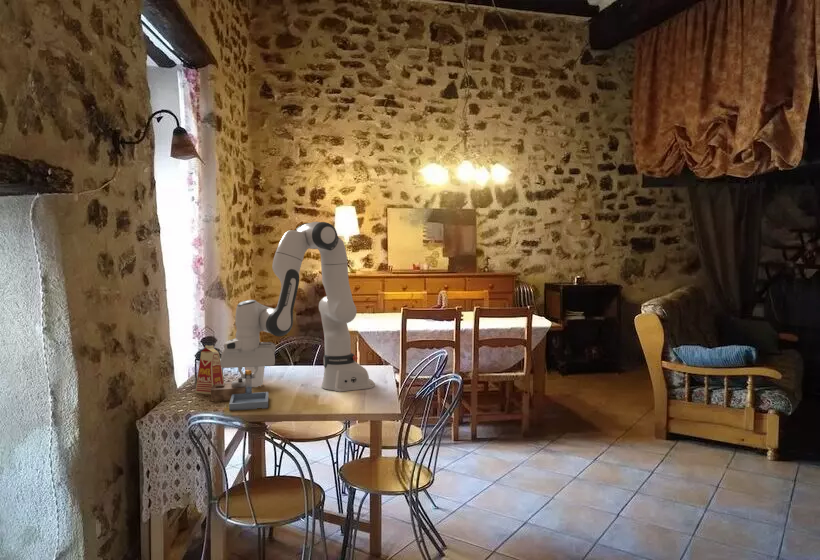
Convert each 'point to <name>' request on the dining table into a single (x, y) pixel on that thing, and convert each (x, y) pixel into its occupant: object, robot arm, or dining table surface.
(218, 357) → the milk carton
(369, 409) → the dining table surface
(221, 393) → the tensioner block
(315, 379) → the dining table surface
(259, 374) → the foam cup
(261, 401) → the dish
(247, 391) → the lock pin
